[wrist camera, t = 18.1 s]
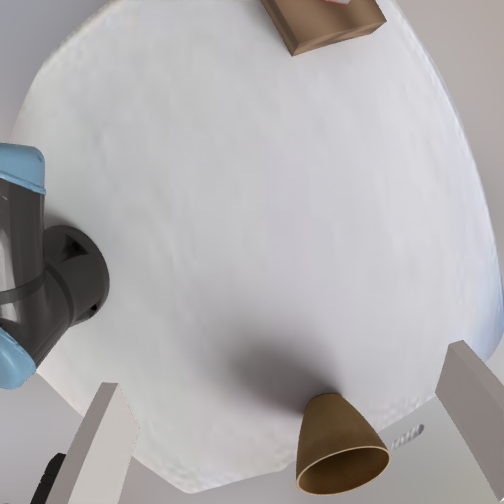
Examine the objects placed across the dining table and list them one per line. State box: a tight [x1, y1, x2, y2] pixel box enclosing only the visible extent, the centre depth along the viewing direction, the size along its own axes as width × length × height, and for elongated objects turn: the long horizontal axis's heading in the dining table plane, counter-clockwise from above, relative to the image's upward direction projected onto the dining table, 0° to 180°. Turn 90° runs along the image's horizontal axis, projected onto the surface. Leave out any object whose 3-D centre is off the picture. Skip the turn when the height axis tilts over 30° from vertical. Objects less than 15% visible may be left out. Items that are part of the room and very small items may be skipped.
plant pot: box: [296, 393, 391, 496], centre depth 45 cm, size 15×15×16 cm
